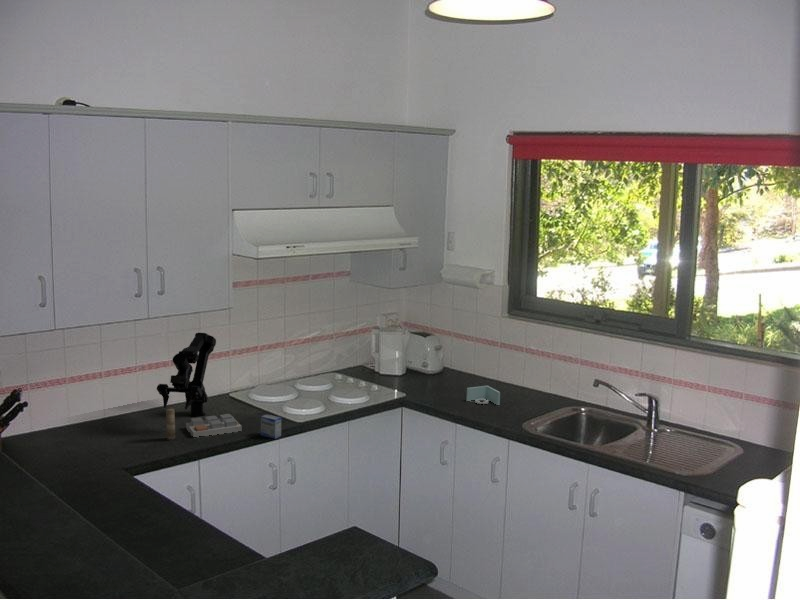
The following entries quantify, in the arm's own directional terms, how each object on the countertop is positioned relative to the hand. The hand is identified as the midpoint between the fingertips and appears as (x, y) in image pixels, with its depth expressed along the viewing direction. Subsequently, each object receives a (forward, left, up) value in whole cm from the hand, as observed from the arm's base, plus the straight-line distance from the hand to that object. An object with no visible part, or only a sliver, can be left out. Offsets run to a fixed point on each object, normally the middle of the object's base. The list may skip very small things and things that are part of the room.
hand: (175, 408), depth 352 cm
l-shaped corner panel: (+13, +148, -13) cm, 149 cm away
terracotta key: (+3, +10, -11) cm, 15 cm away
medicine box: (+17, +37, -12) cm, 42 cm away
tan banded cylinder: (+5, -3, -12) cm, 13 cm away
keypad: (0, +17, -12) cm, 20 cm away
